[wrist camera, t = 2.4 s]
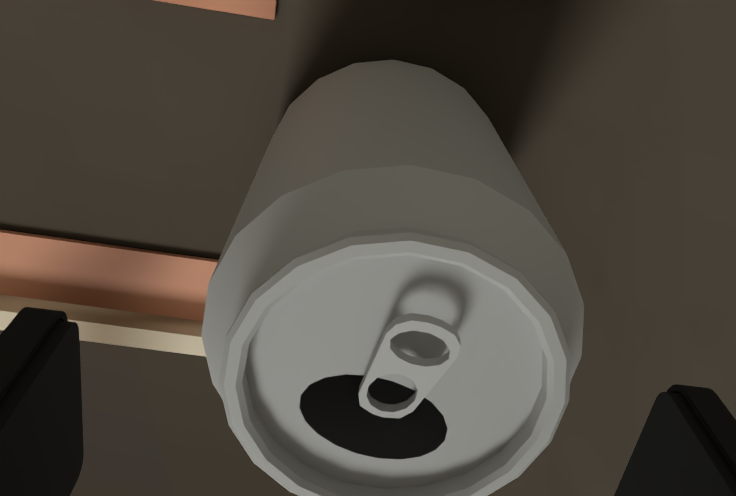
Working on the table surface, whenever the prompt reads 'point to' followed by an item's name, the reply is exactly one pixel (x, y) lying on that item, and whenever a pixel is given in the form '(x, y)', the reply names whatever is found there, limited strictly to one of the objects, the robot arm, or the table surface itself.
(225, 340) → the can
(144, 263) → the tan bent flat bar
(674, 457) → the robot arm
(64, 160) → the table surface
